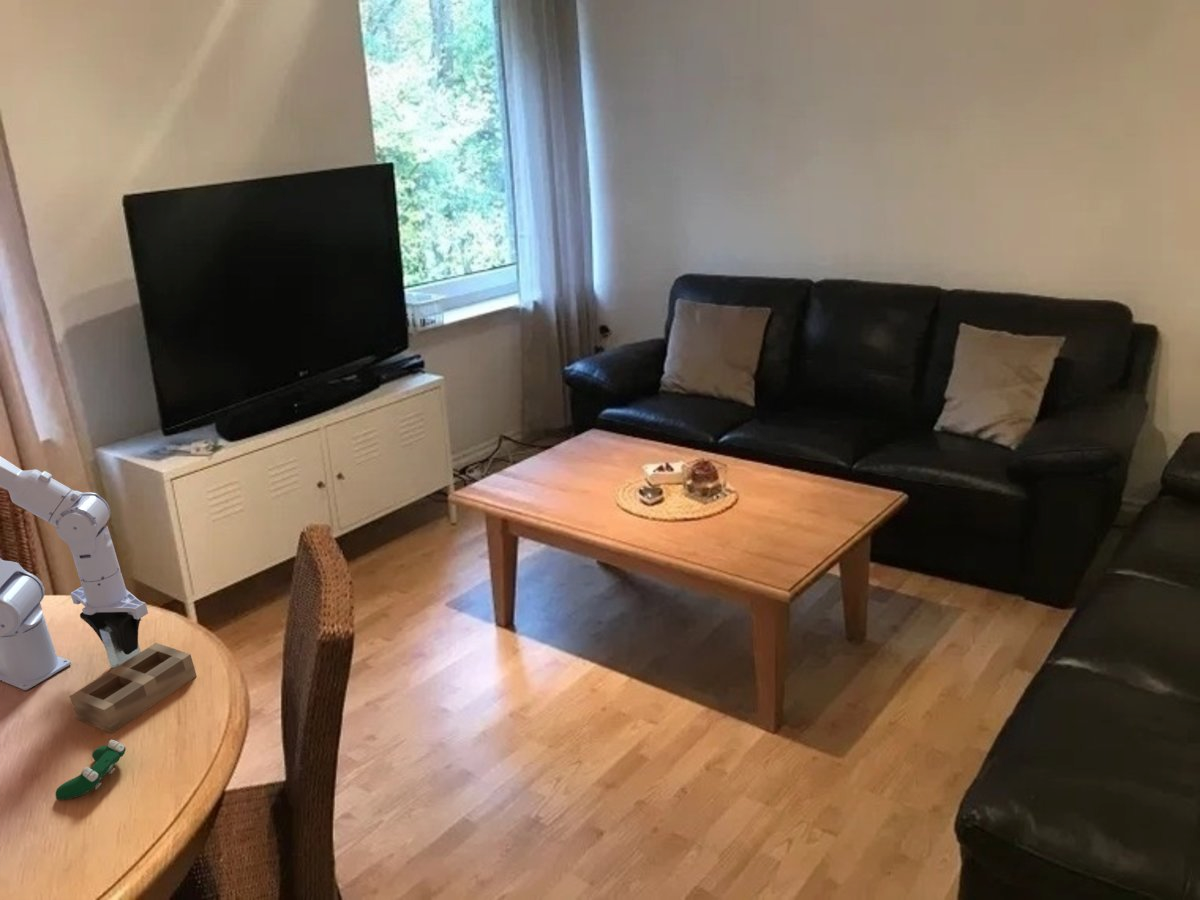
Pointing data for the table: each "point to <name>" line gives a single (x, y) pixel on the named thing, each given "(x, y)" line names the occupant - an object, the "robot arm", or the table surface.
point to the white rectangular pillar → (115, 648)
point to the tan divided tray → (133, 687)
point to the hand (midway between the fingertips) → (122, 648)
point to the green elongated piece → (93, 771)
